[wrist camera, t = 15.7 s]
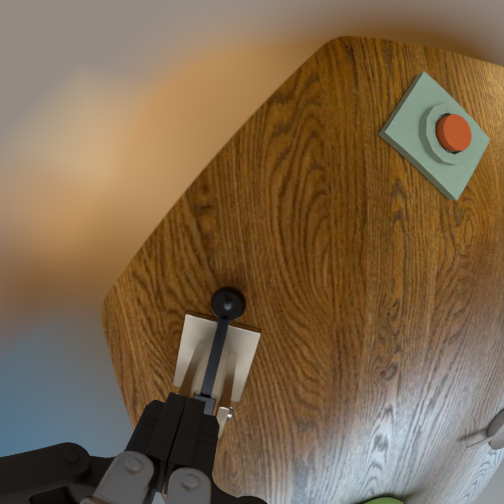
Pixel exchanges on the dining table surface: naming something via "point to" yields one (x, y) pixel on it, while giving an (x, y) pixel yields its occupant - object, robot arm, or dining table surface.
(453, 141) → the power button
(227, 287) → the lever
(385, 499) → the teapot
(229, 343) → the bracket
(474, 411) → the dining table surface
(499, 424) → the saucepan
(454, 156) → the control block
